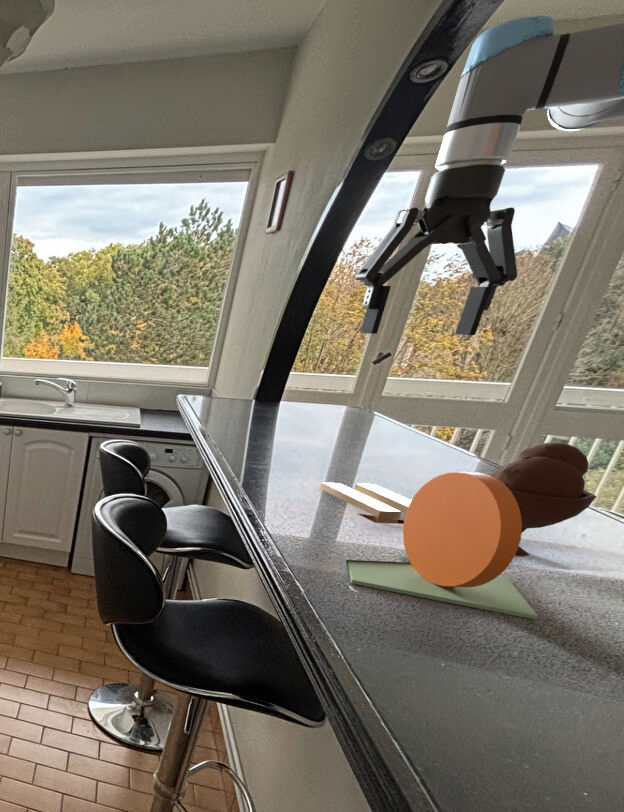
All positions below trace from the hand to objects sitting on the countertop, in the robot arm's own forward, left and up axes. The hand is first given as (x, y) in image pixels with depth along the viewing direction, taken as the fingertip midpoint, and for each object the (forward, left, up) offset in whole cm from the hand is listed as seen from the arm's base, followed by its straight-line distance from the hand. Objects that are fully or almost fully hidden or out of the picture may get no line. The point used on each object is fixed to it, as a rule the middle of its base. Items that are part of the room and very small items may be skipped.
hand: (416, 334), depth 88 cm
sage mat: (-4, +32, -27) cm, 42 cm away
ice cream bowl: (-14, +16, -27) cm, 34 cm away
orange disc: (-4, +32, -26) cm, 41 cm away
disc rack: (-1, +4, -27) cm, 27 cm away
